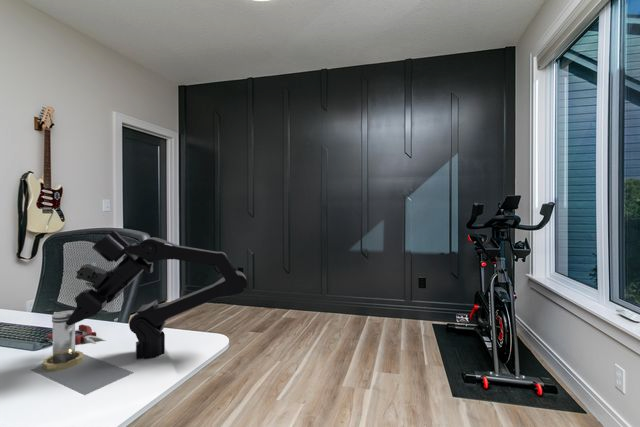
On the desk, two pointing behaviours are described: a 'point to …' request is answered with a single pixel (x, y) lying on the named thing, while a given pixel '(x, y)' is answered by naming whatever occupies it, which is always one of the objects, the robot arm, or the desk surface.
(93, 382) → the mat
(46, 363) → the socket collar
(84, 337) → the pliers
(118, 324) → the desk surface
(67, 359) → the piston
